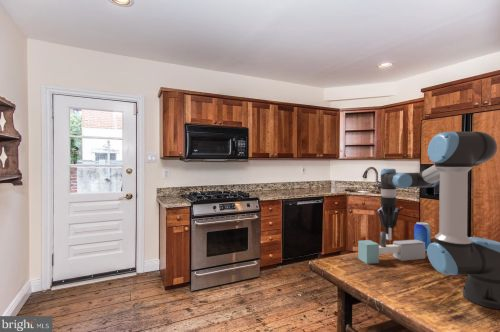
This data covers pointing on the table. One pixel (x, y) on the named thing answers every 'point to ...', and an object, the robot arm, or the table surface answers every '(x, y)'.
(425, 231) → the beer can
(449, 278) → the table surface
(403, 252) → the white rectangular box
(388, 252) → the sliding bolt with handle
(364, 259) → the socket block
